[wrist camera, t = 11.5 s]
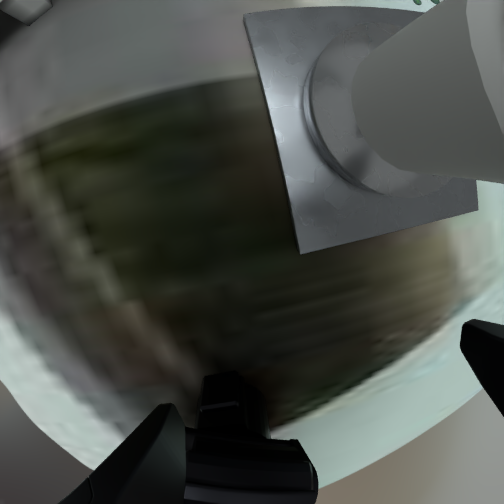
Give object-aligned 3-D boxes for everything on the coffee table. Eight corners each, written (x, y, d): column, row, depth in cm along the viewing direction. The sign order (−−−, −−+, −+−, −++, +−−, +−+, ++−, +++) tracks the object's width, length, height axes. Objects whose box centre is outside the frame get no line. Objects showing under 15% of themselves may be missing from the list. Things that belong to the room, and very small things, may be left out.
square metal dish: (470, 208, 20) (499, 215, 17) (297, 250, 20) (309, 266, 17) (428, 18, 16) (452, 3, 13) (243, 20, 16) (244, -5, 13)
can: (443, 61, 14) (587, 16, 2) (455, 174, 16) (617, 204, 4) (337, 43, 14) (462, -80, 2) (350, 172, 16) (536, 199, 4)
